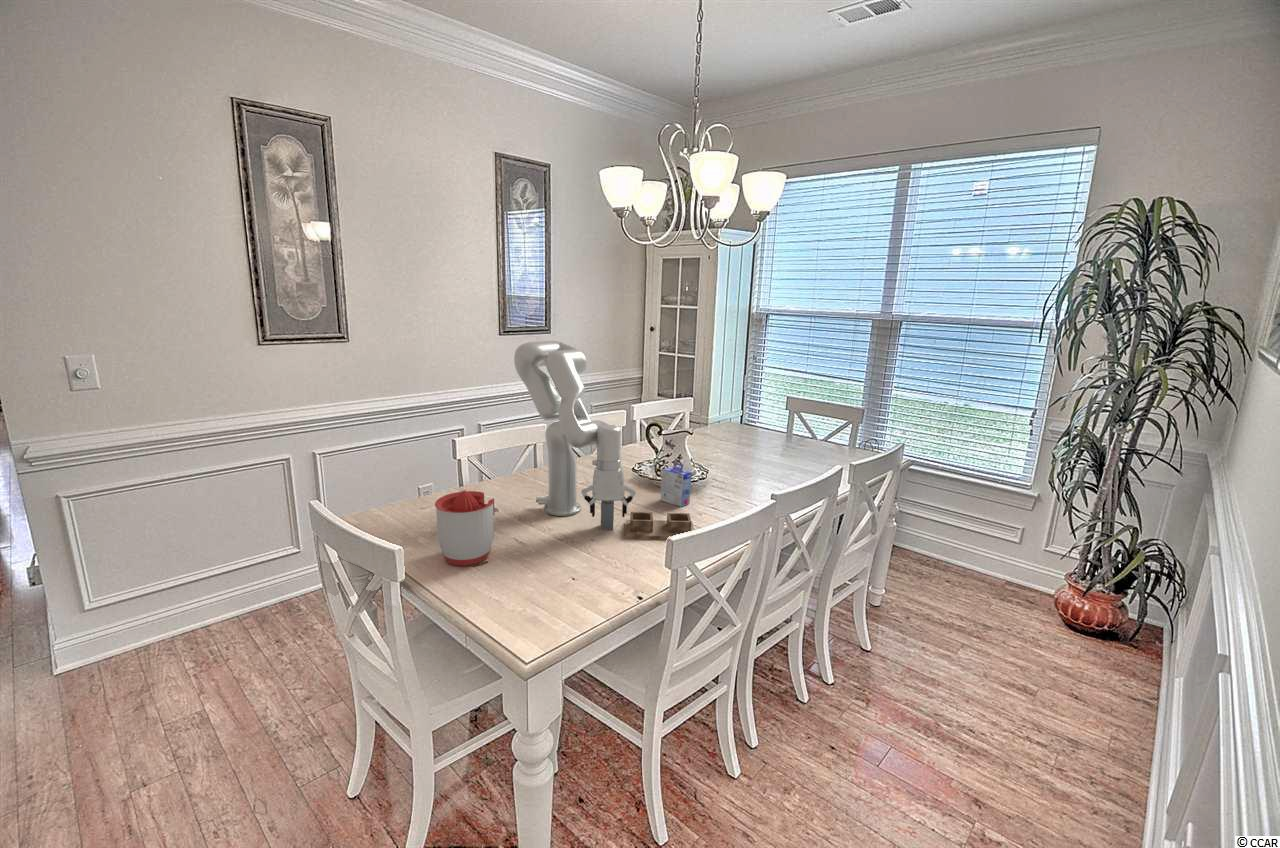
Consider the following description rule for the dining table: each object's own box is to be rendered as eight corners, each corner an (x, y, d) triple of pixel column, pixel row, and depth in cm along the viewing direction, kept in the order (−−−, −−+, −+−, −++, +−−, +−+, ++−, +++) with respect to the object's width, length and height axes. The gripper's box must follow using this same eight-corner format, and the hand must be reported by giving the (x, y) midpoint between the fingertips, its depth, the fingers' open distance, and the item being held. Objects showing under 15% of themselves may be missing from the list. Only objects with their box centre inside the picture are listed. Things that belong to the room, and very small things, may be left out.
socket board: (625, 538, 174) (625, 523, 172) (625, 522, 185) (626, 508, 184) (696, 540, 174) (697, 525, 173) (691, 524, 186) (692, 510, 185)
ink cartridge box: (690, 503, 204) (692, 465, 201) (681, 507, 200) (684, 469, 197) (668, 496, 210) (670, 459, 207) (659, 500, 206) (661, 463, 203)
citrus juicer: (511, 557, 159) (510, 490, 155) (453, 576, 148) (450, 505, 143) (484, 538, 170) (482, 476, 166) (428, 555, 159) (424, 488, 154)
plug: (600, 530, 179) (601, 500, 177) (601, 524, 183) (601, 495, 181) (613, 530, 179) (613, 500, 177) (613, 525, 183) (614, 495, 181)
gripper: (580, 467, 172) (580, 519, 176) (636, 468, 173) (635, 520, 176) (582, 460, 180) (582, 510, 183) (636, 461, 180) (635, 511, 184)
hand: (608, 515), depth 180 cm, fingers open, 9 cm apart
